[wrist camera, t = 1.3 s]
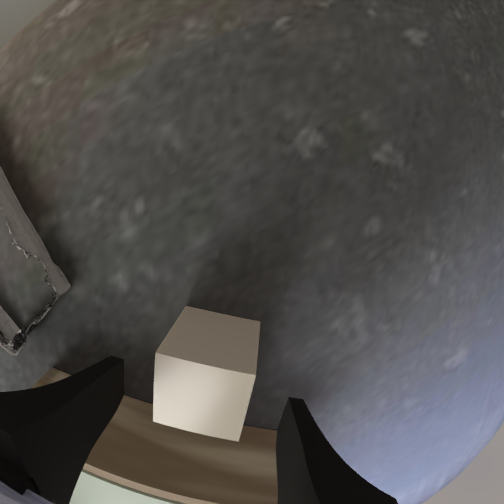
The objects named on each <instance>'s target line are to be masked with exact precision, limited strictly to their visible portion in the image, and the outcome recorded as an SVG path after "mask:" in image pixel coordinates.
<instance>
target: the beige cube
mask: <svg viewBox="0 0 504 504" xmlns="http://www.w3.org/2000/svg"><path fill="white" fill-rule="evenodd" d="M259 334H260V321H255V320H250V319H245V318H240V317H235V316H230V315H225V314H221V313H216V312H212V311H207V310H202V309H198V308H194V307H189V306H185V308H184V309H183V311H182V312H181V314H180V315H179V317H178V319H177V320H176V322H175V323H174V325H173V326H172V328H171V329H170V331H169V332H168V334H167V335H166V337H165V339H164V340H163V342H162V343H161V345H160V346H159V348H158V349H157V351H156V353H155V371H154V397H153V422H156V423H160V424H163V425H167V426H171V427H174V428H178V429H182V430H186V431H190V432H194V433H199V434H203V435H207V436H212V437H217V438H222V439H227V440H232V441H238V442H239V438H240V435H241V431H242V427H243V424H244V420H245V416H246V412H247V408H248V405H249V401H250V397H251V393H252V389H253V385H254V381H255V377H256V370H257V358H258V346H259Z"/></svg>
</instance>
